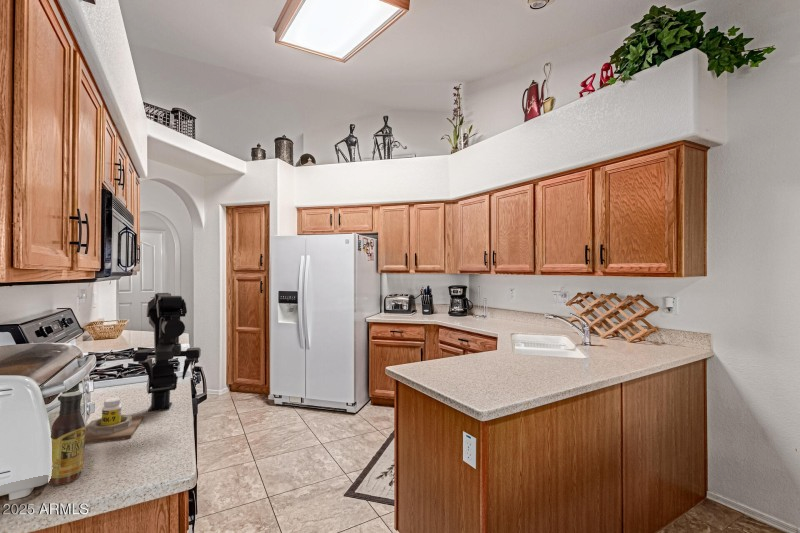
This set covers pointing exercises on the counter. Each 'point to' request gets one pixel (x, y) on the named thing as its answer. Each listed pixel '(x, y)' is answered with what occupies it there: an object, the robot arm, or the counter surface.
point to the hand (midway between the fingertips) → (167, 380)
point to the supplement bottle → (111, 412)
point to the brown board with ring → (112, 429)
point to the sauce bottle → (68, 440)
